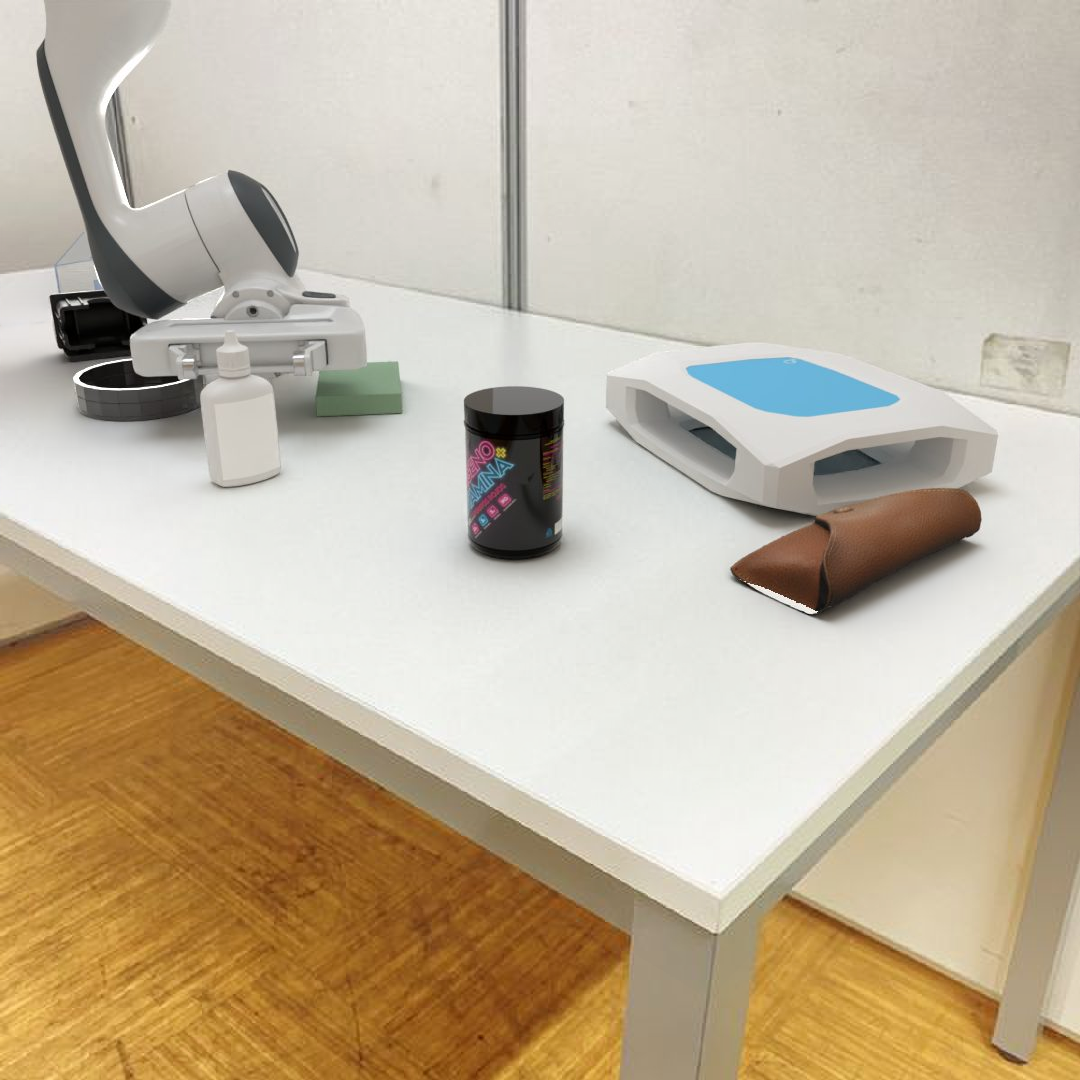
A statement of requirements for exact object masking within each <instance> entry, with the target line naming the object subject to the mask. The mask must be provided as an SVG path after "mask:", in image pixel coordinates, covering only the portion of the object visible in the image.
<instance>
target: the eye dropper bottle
mask: <svg viewBox="0 0 1080 1080" xmlns="http://www.w3.org/2000/svg"><path fill="white" fill-rule="evenodd" d="M216 355H217V363H218V372H219V374H218V376H219V377H217V378H216V379H214V380H212V381H211V382H209V383H208V384H206V385H207V386H206V387H205V388H204V389H203V390H202V391H201V394H200V401H201V406H200V411H201V419H202V427H203V436H204V443H205V453H206V459H207V469H208V475H209V478H210V480H211V481H212V482H213V483H214V484H216V485H218V486H220V487H223V488H232V487H233V488H234V487H241V486H246V485H251V484H255V483H259V482H262V481H265V480H268V479H271V478H273V477H275V476H277V475H279V473H280V472H281V470H282V461H281V450H280V440H279V430H278V420H277V411H276V410H277V409H276V400H275V394H274V387H273V385H272V384H271V382H270V381H269V380H266V379H264V378H262V377H259V376H256V375H250V373H251V370H250V360H249V351H248V348H247V347H246V346H244V345H241V344H240V343H239V342H238V339H237V336H236V333H235V330H227V331H225V342H224V344H223V346H221V347H219V348H217V350H216Z"/></svg>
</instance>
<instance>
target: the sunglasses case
mask: <svg viewBox="0 0 1080 1080" xmlns="http://www.w3.org/2000/svg"><path fill="white" fill-rule="evenodd" d="M982 518H983V517H982V511H981V509H980V505H979V504H978V502H977V500H976V498H975V497H974V496H973V495H972V494H970V492H968V491H967V490H965V489H962V488H930V489H918V490H910V491H904V492H899V493H894V494H889V495H885V496H880V497H878V498H874V499H870V500H866V501H863V502H858V503H853V504H849V505H845V506H842V507H839V508H836V509H834V510H831V511H829V512H827V513H824V514H821V515H818V516H814V521H813V522H812V523H811V524H809V525H805V526H804V527H801V528H798V529H796V530H794V531H792V532H790V533H787V534H785V535H782V536H781V537H779V538H776V539H775V540H772V541H770V542H769V543H767V544H764V545H763V546H762V547H760V548H757V549H755V550H754V551H751V552H749V553H748V554H746V555H745V556H743V557H742V558H740V559H739V560H737V561H736V562H735V563H734V564H733V565H732V566H730V567H729V570H730V572H731V574H732V575H733V576H734V577H735V578H736V579H737V580H739V579H741V580H742V581H741V580H740V581H741V582H743V581H746V583H750V584H754V585H758V586H761V587H764V588H765V589H769V590H771V591H773V592H775V593H778V594H780V595H783V596H784V597H787V598H789V599H791V600H794V601H796V603H801V604H803V605H806V607H809V608H811V609H813V610H815V611H818V612H817V613H818V614H817V615H819V614H821V613H823V612H824V611H825V610H826V609H828V608H830V607H831V608H834V607H836V606H839V605H841V604H842V603H843V602H845V601H846V600H849V599H850V598H852V597H854V596H855V595H857V594H858V593H860V592H861V591H863V590H865V589H867V588H868V587H870V586H871V585H873V584H874V583H878V582H879V581H881V580H882V579H884V578H885V577H887V576H889V575H890V574H891V573H893V572H895V571H896V572H897V571H899V570H901V569H902V568H904V567H907V566H909V565H911V564H914V563H915V562H918V561H919V560H921V559H923V558H924V557H926V556H928V555H931V554H934V553H936V552H938V551H941V550H942V549H944V548H946V547H948V546H951V545H952V544H954V543H957V542H958V541H961V540H963V539H965V538H967V539H968V538H971V537H973V536H974V535H975V534H977V533H978V532H979V531H980V529H981V525H982V520H983V519H982ZM746 583H745V584H746Z"/></svg>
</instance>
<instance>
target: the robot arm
mask: <svg viewBox="0 0 1080 1080" xmlns="http://www.w3.org/2000/svg"><path fill="white" fill-rule="evenodd" d="M43 4H44V12H45V36H44V39H43V40H42V42H41V43H40V45H39V46H38V47H37V50H36V51H35V52H36V53H35V54H36V66H37V72H38V79H39V82H40V86H41V90H42V94H43V98H44V101H45V105H46V108H47V111H48V114H49V118H50V121H51V124H52V127H53V131H54V134H55V137H56V140H57V143H58V146H59V149H60V152H61V156H62V159H63V162H64V165H65V168H66V171H67V174H68V177H69V180H70V183H71V186H72V189H73V193H74V196H75V199H76V202H77V204H78V205H77V206H78V208H79V211H80V214H81V217H82V222H83V226H84V230H85V232H86V234H87V238H88V243H89V247H90V251H91V255H92V259H93V263H94V267H95V270H96V274H97V277H98V279H99V282H100V284H101V286H102V288H103V290H104V291H105V293H106V294H107V296H108V298H109V299H110V301H111V302H112V303H113V304H114V305H115V306H116V307H117V308H119V309H121V310H123V311H125V312H128V313H130V314H133V315H136V316H140V317H144V318H147V320H148V319H150V320H156V321H152V322H149V323H148V324H147V325H145V326H143V327H142V328H140V329H139V330H137V331H136V332H135V333H134V334H133V335H132V336H131V338H130V349H131V355H130V357H131V359H132V363H133V368H134V371H135V372H136V373H137V374H139V375H141V376H145V377H154V376H178V379H179V380H187V379H197V377H198V376H199V375H205V376H206V375H207V376H208V375H209V376H210V375H211V376H213V375H219V372H218V363H217V355H216V350H217V348H219V347H221V346H223V344H224V342H225V331H227V330H235V333H236V336H237V339H238V342H239V343H240V344H241V345H244V346H246V347H247V348H248V351H249V360H250V370H251V373H250V375H256V376H259V377H262V378H264V379H266V380H267V381H269V380H272V379H276V378H279V377H281V376H283V375H289V374H293V376H295V377H296V376H298V377H299V376H301V377H302V376H304V377H305V376H312V375H313V372H319V371H330V370H358V369H362V368H365V367H366V366H367V362H368V354H367V353H368V352H367V339H366V327H365V323H364V321H363V318H362V317H361V315H360V314H359V313H358V311H357V310H355V309H353V308H351V305H350V300H349V297H348V296H347V295H344V294H338V293H332V292H329V293H328V292H320V291H309V290H307V289H306V287H305V285H304V283H303V281H302V280H301V278H300V276H299V275H298V273H297V272H296V271H297V267H298V261H299V255H300V251H299V247H298V244H297V243H298V242H297V240H296V238H295V235H294V232H293V230H292V227H291V225H290V223H289V221H288V218H287V216H286V215H285V212H284V211H283V209H282V207H281V205H280V204H279V202H278V201H277V199H276V198H275V197H274V195H273V194H272V192H271V191H270V190H269V189H268V188H267V187H266V186H265V185H264V184H262V183H261V182H259V181H258V180H256V179H254V178H252V177H251V176H249V175H247V174H245V173H242V172H240V171H237V170H231V169H228V170H227V171H224V172H221V173H219V174H217V175H214V176H211V177H209V178H206V179H204V180H202V181H199V182H197V183H195V184H193V185H190V186H187V188H185V189H183V190H181V191H179V192H176V193H173V194H172V195H169V196H166V197H164V198H162V199H160V200H157V201H155V202H153V203H150V204H147V205H145V206H143V207H140V208H133V207H131V206H130V204H129V201H128V198H127V195H126V192H125V188H124V185H123V182H122V178H121V176H120V172H119V169H118V165H117V163H116V159H115V157H114V153H113V149H112V147H111V143H110V140H109V137H108V133H107V129H106V112H107V107H108V105H109V103H110V100H111V98H112V97H113V94H114V92H115V91H116V89H117V88H118V87H119V86H120V84H121V83H122V82H123V80H124V79H125V78H126V77H127V76H128V75H129V73H131V72H132V71H133V69H134V68H135V67H136V66H137V65H138V64H139V63H140V62H141V61H142V60H143V59H144V58H145V57H146V56H147V55H148V54H149V52H150V51H151V50H152V49H153V48H154V46H155V44H156V43H157V42H158V40H159V38H161V35H162V33H163V32H164V29H165V27H166V25H167V22H168V20H169V17H170V13H171V8H172V0H43ZM221 288H224V291H223V293H222V295H220V298H219V300H218V301H217V303H216V305H215V306H214V308H213V310H212V312H211V314H210V317H209V318H207V317H206V318H179V319H176V318H175V319H174V318H173V319H162V318H163V317H166V316H167V315H170V314H171V313H173V312H174V311H177V310H178V309H180V308H182V307H184V306H186V305H187V304H188V303H189V302H191V301H194V300H196V299H198V298H200V297H203V296H206V295H208V294H210V293H213V292H215V291H218V290H219V289H221ZM161 319H162V320H161Z"/></svg>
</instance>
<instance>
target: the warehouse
mask: <svg viewBox="0 0 1080 1080" xmlns="http://www.w3.org/2000/svg"><path fill="white" fill-rule="evenodd" d="M53 267H54V275H55V279H56V285H57V290H58V291H57V292H58V294H59V293H71V292H83V291H94V290H103V288H102V286H101V284H100V282H99V279H98V277H97V274H96V270H95V267H94V263H93V259H92V255H91V251H90V247H89V243H88V238H87V234H86V231H84V232H82V233H81V234H80V236H79V237H78V238H77V239H76V240H75V241H74V242H73V243H72V244H71V245H70V247H69V248H68V249H67V250H66V251H65V252H64V254H63V255H62V256H61V257H60V258H59V259H58V260H57V262H56V263H55V264H54V265H53Z"/></svg>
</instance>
